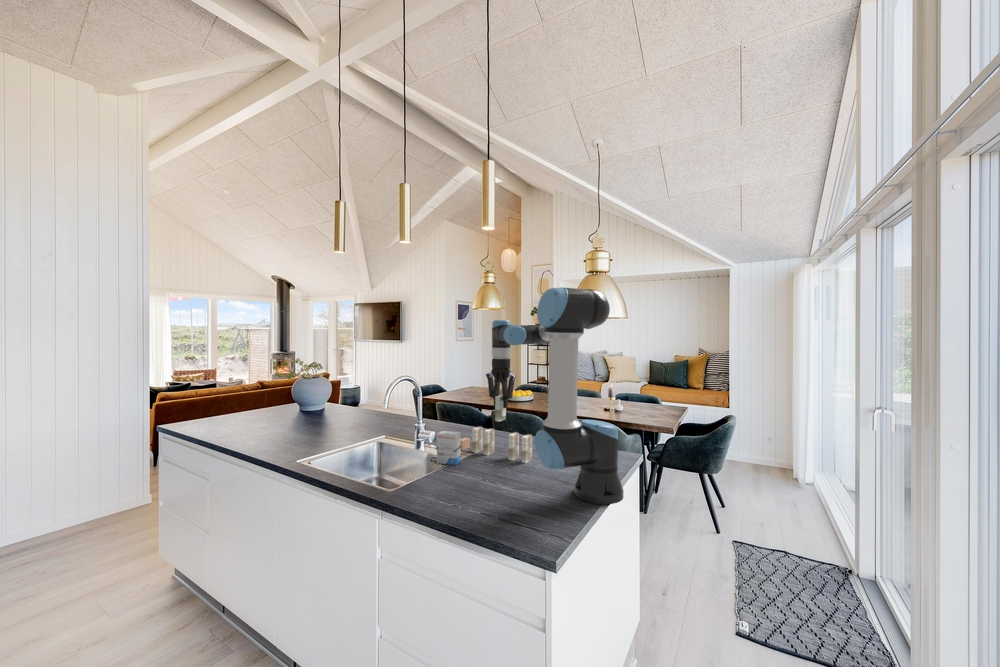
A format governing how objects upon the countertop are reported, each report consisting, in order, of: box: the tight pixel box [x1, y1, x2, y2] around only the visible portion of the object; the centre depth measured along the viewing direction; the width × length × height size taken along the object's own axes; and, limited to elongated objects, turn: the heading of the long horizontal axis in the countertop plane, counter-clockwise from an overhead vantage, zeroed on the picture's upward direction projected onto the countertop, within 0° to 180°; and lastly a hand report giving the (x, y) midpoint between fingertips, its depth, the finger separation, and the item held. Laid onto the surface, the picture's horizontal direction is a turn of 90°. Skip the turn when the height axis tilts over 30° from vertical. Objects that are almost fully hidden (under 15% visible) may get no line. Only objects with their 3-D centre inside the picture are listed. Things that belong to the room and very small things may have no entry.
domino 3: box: [494, 394, 507, 423], centre depth 169 cm, size 5×2×10 cm, turn 149°
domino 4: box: [508, 431, 520, 462], centre depth 167 cm, size 5×2×10 cm, turn 148°
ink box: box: [435, 430, 462, 466], centre depth 162 cm, size 9×5×12 cm, turn 73°
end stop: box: [461, 437, 471, 451], centre depth 181 cm, size 6×3×4 cm, turn 148°
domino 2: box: [483, 427, 495, 456], centre depth 173 cm, size 5×2×10 cm, turn 148°
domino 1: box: [471, 426, 484, 454], centre depth 177 cm, size 5×2×10 cm, turn 148°
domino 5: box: [521, 434, 533, 464], centre depth 164 cm, size 5×2×10 cm, turn 148°
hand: (500, 415), depth 169 cm, fingers closed on domino 3, 2 cm apart
